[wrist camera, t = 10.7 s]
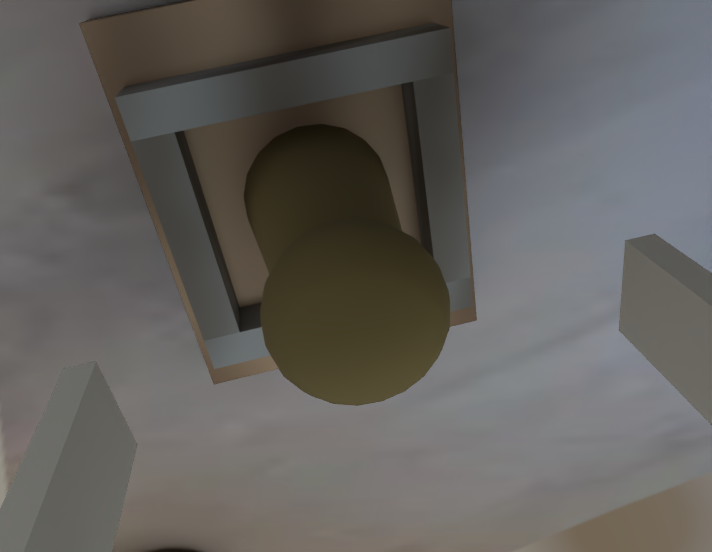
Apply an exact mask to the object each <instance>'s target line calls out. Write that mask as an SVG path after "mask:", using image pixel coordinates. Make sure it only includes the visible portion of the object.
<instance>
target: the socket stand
mask: <svg viewBox="0 0 712 552" xmlns="http://www.w3.org/2000/svg"><path fill="white" fill-rule="evenodd" d="M79 25H80V27H81V30H82V33H83V35H84V38H85V41H86V43H87V46H88V49H89V51H90V54H91V57H92V59H93V62H94V65H95V67H96V70H97V73H98V76H99V78H100V81H101V84H102V86H103V89H104V92H105V94H106V97H107V100H108V102H109V105H110V108H111V110H112V113H113V116H114V118H115V121H116V124H117V126H118V129H119V132H120V134H121V137H122V140H123V142H124V145H125V148H126V150H127V153H128V156H129V159H130V161H131V164H132V167H133V169H134V172H135V175H136V177H137V180H138V183H139V185H140V188H141V191H142V193H143V196H144V199H145V201H146V204H147V207H148V209H149V212H150V215H151V217H152V220H153V223H154V225H155V228H156V231H157V233H158V236H159V239H160V242H161V244H162V247H163V250H164V252H165V255H166V258H167V260H168V263H169V266H170V268H171V271H172V274H173V276H174V279H175V282H176V284H177V287H178V290H179V292H180V295H181V298H182V300H183V303H184V306H185V308H186V311H187V314H188V316H189V319H190V322H191V325H192V327H193V330H194V333H195V335H196V338H197V341H198V343H199V346H200V349H201V351H202V354H203V357H204V359H205V362H206V365H207V367H208V370H209V373H210V375H211V378H212V381H213V383H214V384H218V383H222V382H226V381H230V380H234V379H238V378H242V377H246V376H250V375H255V374H259V373H263V372H267V371H271V370H275V369H279V368H278V366H277V365H276V363H275V362H274V360H273V358H272V357H271V355H270V353H269V351H268V350H267V348H266V346H265V341H264V336H263V331H262V326H261V320H260V307H261V302H262V297H263V291H264V286H265V282H266V280H267V278H268V276H269V272H268V269H267V267H266V264H265V261H264V259H263V256H262V254H261V251H260V249H259V246H258V244H257V241H256V238H255V236H254V233H253V231H252V228H251V226H250V223H249V221H248V218H247V213H246V207H245V202H244V190H245V183H246V177H247V173H248V171H249V169H250V167H251V165H252V164H253V162H254V160H255V158H256V156H257V154H258V153H259V152H260V151H261V150H262V149H263V148H264V147H265V146H266V145H267V144H268V143H269V142H270V141H272V140H273V139H274V138H275V137H276V136H278V135H280V134H283V133H285V132H287V131H289V130H291V129H293V128H295V127H298V126H306V125H315V124H326V125H331V126H336V127H341V128H345V129H347V130H349V131H350V132H352V133H354V134H356V135H357V136H359V137H361V138H363V139H364V140H365V141H366V142H367V143H368V144H369V145H370V146H371V147H372V149H373V150H374V151H375V152H376V153H377V154H378V155H379V157H380V159H381V161H382V164H383V166H384V169H385V171H386V174H387V176H388V180H389V183H390V187H391V191H392V195H393V198H394V202H395V206H396V209H397V213H398V217H399V221H400V224H401V228H402V232H404V233H406V234H408V235H410V236H412V237H414V238H416V240H417V241H418V242H419V243H420V244H421V245H422V246H423V247H424V248H425V249H426V250H427V252H428V253H429V254H430V255H431V256H432V257H433V258H434V260H435V261H436V263H437V264H438V265H439V267H440V270H441V272H442V275H443V277H444V280H445V282H446V285H447V288H448V290H449V297H450V327H451V326H455V325H459V324H463V323H467V322H471V321H475V320H477V317H476V305H475V292H474V280H473V267H472V254H471V242H470V229H469V217H468V204H467V192H466V179H465V166H464V154H463V141H462V129H461V116H460V104H459V91H458V78H457V66H456V53H455V41H454V28H453V16H452V3H451V0H187V1H182V2H177V3H172V4H167V5H161V6H156V7H151V8H146V9H141V10H136V11H131V12H126V13H121V14H116V15H111V16H106V17H101V18H96V19H91V20H87V21H85V22H82V23H79Z"/></svg>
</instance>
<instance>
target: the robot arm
mask: <svg viewBox="0 0 712 552" xmlns="http://www.w3.org/2000/svg"><path fill="white" fill-rule="evenodd" d="M619 331H620V332H621V333H622V334H623V335H624V336H625V337H626V338H627V339H628V340H629V341H630V342H631V343H632V344H633V345H634V346H635V347H636V348H637V349H638V350H639V351H640V352H641V353H642V354H643V355H644V356H645V357H646V359H647V360H648V361H649V362H650V363H651V364H652V365H653V366H654V367H655V368H656V369H657V370H658V371H659V372H660V373H661V374H662V375H663V376H664V377H665V378H666V379H667V380H668V381H669V382H670V383H671V384H672V385H673V386H674V387H675V388H676V389H677V390H678V391H679V392H680V393H681V394H682V395H683V396H684V397H685V398H686V399H687V400H688V401H689V402H690V404H691V405H692V406H693V407H694V408H695V409H696V410H697V411H698V412H699V413H700V414H701V415H702V416H703V417H704V418H705V419H706V420H707V421H708V422H709V423H710V424H711V425H712V273H711V272H709V271H708V270H706V269H705V268H703V267H702V266H700V265H699V264H698V263H696V262H695V261H693V260H692V259H690V258H689V257H687V256H686V255H685V254H683V253H682V252H680V251H679V250H677V249H676V248H674V247H673V246H672V245H670V244H669V243H667V242H666V241H664V240H663V239H661V238H660V237H659V236H657V235H656V234H651V235H647V236H643V237H638V238H634V239H630V240H625V252H624V266H623V280H622V293H621V307H620V320H619ZM136 448H137V443H136V440H135V438H134V436H133V434H132V432H131V430H130V428H129V426H128V424H127V422H126V420H125V418H124V416H123V414H122V412H121V410H120V408H119V406H118V404H117V402H116V400H115V398H114V396H113V394H112V392H111V390H110V388H109V386H108V384H107V382H106V380H105V378H104V376H103V374H102V372H101V370H100V368H99V366H98V364H97V362H96V361H95V362H91V363H86V364H82V365H78V366H73V367H69V368H64V369H63V371H62V373H61V376H60V378H59V380H58V382H57V384H56V387H55V389H54V391H53V393H52V395H51V398H50V400H49V402H48V404H47V407H46V409H45V411H44V413H43V415H42V418H41V420H40V422H39V424H38V426H37V429H36V431H35V433H34V435H33V437H32V440H31V442H30V444H29V446H28V449H27V451H26V453H25V455H24V457H23V460H22V462H21V464H20V466H19V468H18V471H17V473H16V475H15V477H14V479H13V482H12V484H11V486H10V488H9V490H8V493H7V495H6V497H5V499H4V502H3V504H2V506H1V508H0V552H112V551H113V547H114V542H115V538H116V534H117V529H118V525H119V521H120V516H121V512H122V508H123V504H124V499H125V495H126V491H127V486H128V482H129V478H130V473H131V469H132V465H133V461H134V456H135V452H136Z"/></svg>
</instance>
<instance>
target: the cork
mask: <svg viewBox="0 0 712 552" xmlns="http://www.w3.org/2000/svg"><path fill="white" fill-rule="evenodd" d="M244 202H245V207H246V213H247V218H248V221H249V223H250V226H251V228H252V231H253V233H254V236H255V238H256V241H257V244H258V246H259V249H260V251H261V254H262V256H263V259H264V261H265V264H266V267H267V269H268V272H269V276H268V278H267V280H266V282H265V286H264V291H263V297H262V302H261V307H260V320H261V326H262V331H263V336H264V341H265V346H266V348H267V350H268V351H269V353H270V355H271V357H272V358H273V360H274V362H275V363H276V365H277V366H278V368H279V370H280V371H281V373H282V374H283V376H284V377H285V378H287V379H288V380H289V381H290V382H292V383H293V384H294V385H296V386H297V387H298V388H299V389H301V390H302V391H303V392H305V393H307V394H309V395H311V396H314V397H316V398H319V399H322V400H325V401H327V402H330V403H333V404H344V405H357V406H358V405H363V404H369V403H375V402H380V401H384V400H386V399H388V398H390V397H393V396H395V395H397V394H399V393H402V392H404V391H406V390H407V389H408V388H409V387H411V386H412V385H413V384H415V383H416V382H417V381H418V380H420V379H421V378H422V377H424V376H425V374H426V373H427V372H428V370H429V369H430V367H431V366H432V365H433V363H434V362H435V361H436V359H437V358H438V357H439V354H440V352H441V350H442V348H443V345H444V342H445V339H446V337H447V334H448V331H449V328H450V297H449V290H448V288H447V285H446V282H445V280H444V277H443V275H442V272H441V270H440V267H439V265H438V264H437V263H436V261H435V260H434V258H433V257H432V256H431V255H430V254H429V253H428V252H427V250H426V249H425V248H424V247H423V246H422V245H421V244H420V243H419V242H418V241H417V240H416V238H414V237H412V236H410V235H408V234H406V233H404V232H402V228H401V224H400V221H399V217H398V213H397V209H396V206H395V202H394V198H393V195H392V191H391V187H390V183H389V180H388V176H387V174H386V171H385V169H384V166H383V164H382V161H381V159H380V157H379V155H378V154H377V153H376V152H375V151H374V150H373V149H372V147H371V146H370V145H369V144H368V143H367V142H366V141H365V140H364V139H363V138H361V137H359V136H357V135H356V134H354V133H352V132H350V131H349V130H347V129H345V128H341V127H336V126H331V125H326V124H315V125H306V126H298V127H295V128H293V129H291V130H289V131H287V132H285V133H283V134H280V135H278V136H276V137H275V138H274V139H273V140H272V141H270V142H269V143H268V144H267V145H266V146H265V147H264V148H263V149H262V150H261V151H260V152H259V153H258V154H257V156H256V158H255V160H254V162H253V164H252V165H251V167H250V169H249V171H248V173H247V177H246V183H245V190H244Z"/></svg>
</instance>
